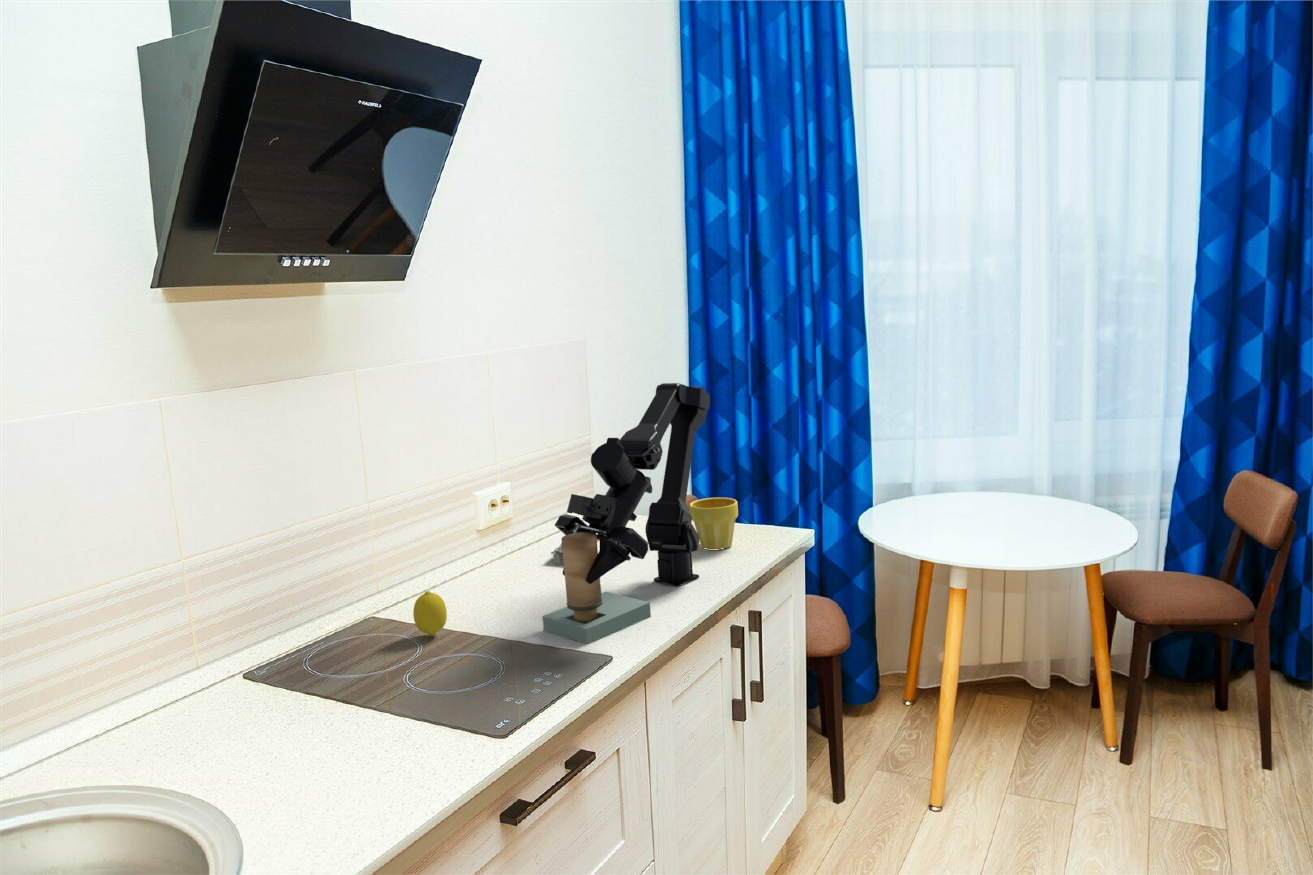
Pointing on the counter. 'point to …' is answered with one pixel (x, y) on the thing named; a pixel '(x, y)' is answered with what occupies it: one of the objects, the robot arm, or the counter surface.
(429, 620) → the lemon
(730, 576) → the counter surface
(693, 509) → the plant pot
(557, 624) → the board
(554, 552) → the egg carton
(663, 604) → the counter surface
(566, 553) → the peg
